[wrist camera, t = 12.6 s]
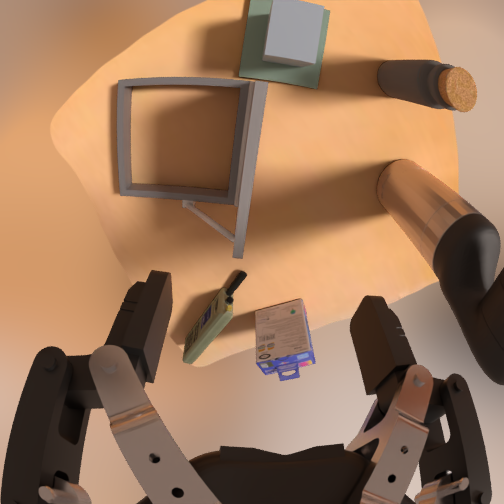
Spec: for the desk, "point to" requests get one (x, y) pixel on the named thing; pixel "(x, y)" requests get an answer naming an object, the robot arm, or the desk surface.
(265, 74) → the mat
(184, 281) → the desk surface
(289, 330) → the ink cartridge box
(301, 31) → the block
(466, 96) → the bottle
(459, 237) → the robot arm
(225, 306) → the handheld radio
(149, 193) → the case
